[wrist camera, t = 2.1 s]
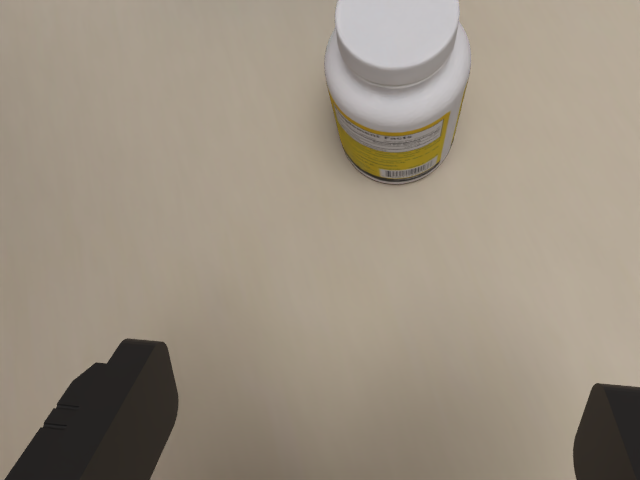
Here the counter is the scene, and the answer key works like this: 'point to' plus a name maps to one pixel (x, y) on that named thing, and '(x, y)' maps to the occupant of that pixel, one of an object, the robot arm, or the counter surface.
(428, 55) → the supplement bottle
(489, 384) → the counter surface
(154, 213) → the counter surface
